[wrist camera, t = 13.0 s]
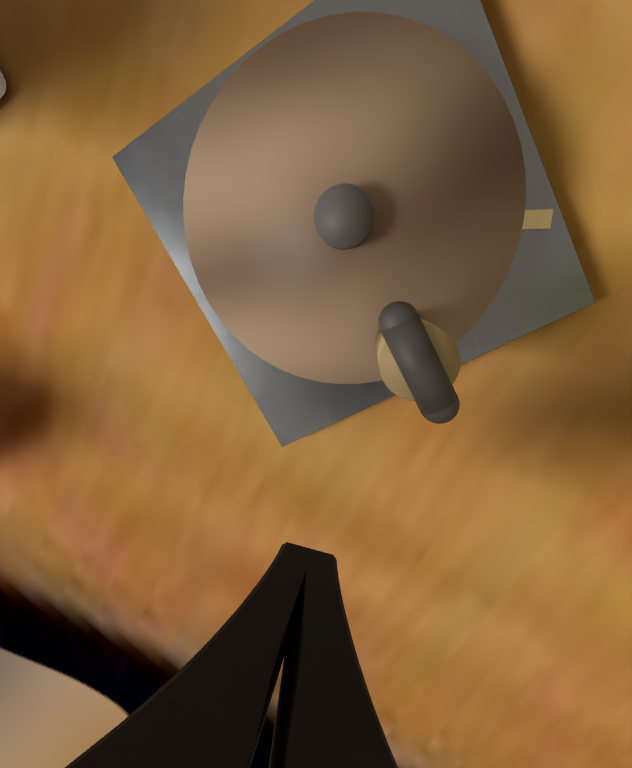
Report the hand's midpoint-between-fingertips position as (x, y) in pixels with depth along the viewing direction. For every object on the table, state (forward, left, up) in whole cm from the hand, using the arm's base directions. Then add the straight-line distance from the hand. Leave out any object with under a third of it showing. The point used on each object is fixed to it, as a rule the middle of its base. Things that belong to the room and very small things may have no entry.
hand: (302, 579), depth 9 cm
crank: (-8, +5, -6) cm, 11 cm away
